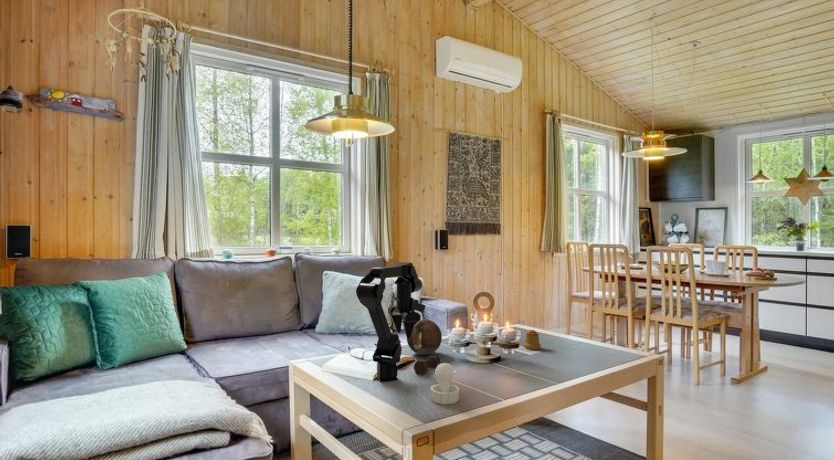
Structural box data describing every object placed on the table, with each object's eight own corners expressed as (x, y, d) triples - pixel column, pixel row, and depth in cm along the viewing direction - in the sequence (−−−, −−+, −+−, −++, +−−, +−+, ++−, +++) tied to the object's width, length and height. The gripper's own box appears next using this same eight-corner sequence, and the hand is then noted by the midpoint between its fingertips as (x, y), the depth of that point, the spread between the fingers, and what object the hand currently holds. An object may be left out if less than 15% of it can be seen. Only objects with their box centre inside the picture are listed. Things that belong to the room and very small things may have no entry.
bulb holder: (438, 406, 149) (438, 395, 149) (425, 396, 158) (425, 385, 157) (464, 402, 153) (464, 391, 153) (450, 392, 161) (450, 382, 161)
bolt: (439, 369, 192) (421, 378, 179) (429, 361, 195) (411, 370, 182) (446, 357, 191) (428, 366, 178) (436, 349, 193) (418, 357, 180)
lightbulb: (437, 393, 159) (437, 359, 159) (455, 394, 158) (455, 361, 157) (433, 399, 153) (433, 365, 153) (452, 401, 152) (452, 366, 151)
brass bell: (528, 345, 223) (543, 348, 218) (520, 348, 217) (535, 351, 213) (528, 328, 223) (543, 330, 218) (520, 330, 217) (535, 333, 212)
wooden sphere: (423, 347, 217) (423, 314, 217) (448, 354, 207) (449, 319, 206) (399, 354, 206) (399, 319, 206) (424, 361, 196) (425, 324, 196)
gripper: (433, 297, 180) (433, 338, 181) (413, 290, 197) (412, 328, 198) (406, 299, 176) (405, 341, 176) (387, 291, 193) (387, 330, 193)
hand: (403, 335), depth 186 cm, fingers open, 9 cm apart
